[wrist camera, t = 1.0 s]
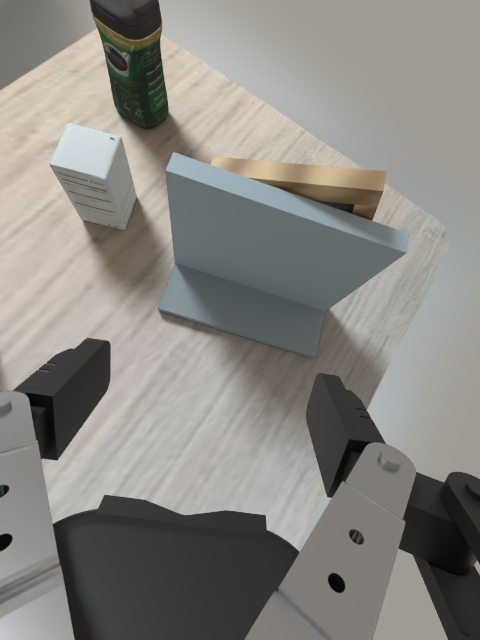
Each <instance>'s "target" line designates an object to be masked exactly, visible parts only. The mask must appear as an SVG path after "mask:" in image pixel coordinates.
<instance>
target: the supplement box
mask: <svg viewBox="0 0 480 640" xmlns="http://www.w3.org/2000/svg"><path fill="white" fill-rule="evenodd" d="M49 165H50V166H51V168H52V169H53V171H54V173H55V175H56V176H57V178H58V180H59V182H60V183H61V185H62V187H63V189H64V190H65V192H66V194H67V195H68V197H69V199H70V200H71V202H72V204H73V206H74V207H75V209H76V211H77V212H78V214H79V216H80V218H81V219H82V220H85V221H89V222H93V223H97V224H101V225H105V226H109V227H113V228H117V229H121V230H125V229H126V226H127V223H128V221H129V218H130V215H131V212H132V209H133V206H134V203H135V200H136V197H137V195H136V192H135V188H134V184H133V180H132V176H131V172H130V168H129V165H128V161H127V157H126V153H125V149H124V145H123V141H122V138H121V137H119V136H116V135H112V134H109V133H105V132H101V131H98V130H94V129H90V128H86V127H82V126H79V125H75V124H71V123H68V124H67V126H66V128H65V131H64V133H63V135H62V137H61V139H60V142H59V144H58V146H57V148H56V150H55V153H54V155H53V157H52V159H51V161H50V163H49Z"/></svg>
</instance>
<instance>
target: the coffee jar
mask: <svg viewBox="0 0 480 640" xmlns="http://www.w3.org/2000/svg"><path fill="white" fill-rule="evenodd" d="M90 5H91V11H92V15H93V18H94V21H95V23H96V26H97V28H98V31H99V34H100V37H101V40H102V44H103V48H104V52H105V57H106V63H107V67H108V72H109V78H110V83H111V89H112V95H113V100H114V104H115V107H116V108H117V110H118V111H119V112H120V113H121V114H123V115H124V116H125V117H126V118H128V119H129V120H131V121H132V122H134V123H135V124H137V125H139V126H141V127H144V128H150V127H154V126H156V125H158V124H160V123H161V122H162V121H163V120H164V119H165V118H166V116H167V115H168V100H167V93H166V87H165V81H164V74H163V66H162V59H161V50H160V36H161V32H162V20H161V13H160V8H159V2H158V0H90Z"/></svg>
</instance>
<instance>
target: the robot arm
mask: <svg viewBox="0 0 480 640" xmlns="http://www.w3.org/2000/svg"><path fill="white" fill-rule="evenodd" d="M110 350H111V348H110V343H109V341H105V340H98V339H92V338H87V339H85V340H84V341H83V342H82V343H81V344H80V345H79V346H77V347H76V348H75V349H68V350H66V351H63V352H61V353H58V354H56V355H55V356H54V357H53V358H51V359H50V360H49V361H48V362H47V364H44V365H43V366H42V367H41V368H39V370H37V371H36V372H35V373H33V374H32V375H31V376H30V377H29V378H27V379H26V380H25V381H24V382H23V383H21V384H20V385H19V386H18V387H17V388H15V389H14V390H13V391H2V392H0V640H373V636H374V633H375V629H376V625H377V621H378V619H379V615H380V611H381V608H382V604H383V601H384V597H385V594H386V590H387V587H388V583H389V580H390V576H391V573H392V569H393V565H394V562H395V559H396V555H397V551H398V548H399V549H401V550H403V551H406V552H408V553H410V554H412V555H413V556H414V559H415V561H416V563H417V565H418V568H419V570H420V573H421V575H422V578H423V580H424V582H425V585H426V587H427V590H428V592H429V594H430V597H431V599H432V602H433V604H434V606H435V609H436V611H437V614H438V616H439V618H440V621H441V623H442V626H443V628H444V630H445V633H446V635H447V638H448V640H480V575H479V573H478V572H477V570H476V568H475V566H474V564H475V563H476V561H477V560H478V562H479V564H480V479H478V478H476V477H474V476H472V475H469V474H467V473H462V472H452V473H450V474H449V476H448V477H447V479H446V481H445V482H441V481H438V480H435V479H433V478H430V477H428V476H425V475H422V474H420V473H418V472H416V469H415V467H414V465H413V463H412V462H411V461H410V459H409V458H407V456H406V455H404V454H403V453H402V452H400V451H399V450H397V449H395V448H394V447H392V446H389V445H387V444H386V443H385V441H384V440H383V438H382V436H381V434H380V433H379V431H378V429H377V427H376V426H375V424H374V422H373V421H372V419H371V417H370V415H369V413H368V412H367V411H366V408H365V406H364V405H363V403H362V401H361V400H360V399H359V398H358V397H357V396H356V395H355V394H354V393H353V392H352V391H350V390H346V389H345V387H344V385H343V383H342V381H341V380H340V378H339V376H335V375H328V374H322V373H319V374H317V376H316V379H315V382H314V385H313V389H312V392H311V395H310V399H309V402H308V406H307V412H306V420H307V425H308V428H309V432H310V436H311V439H312V443H313V447H314V450H315V454H316V458H317V461H318V465H319V469H320V472H321V476H322V480H323V483H324V487H325V490H326V494H327V497H330V498H332V499H331V501H330V502H329V504H328V506H327V508H326V509H325V511H324V513H323V514H322V516H321V518H320V519H319V521H318V523H317V524H316V526H315V528H314V529H313V531H312V533H311V535H310V536H309V538H308V540H307V541H306V543H305V545H304V546H303V548H302V549H301V551H300V552H299V551H298V550H297V549H296V548H295V547H293V546H292V545H291V544H290V543H289V542H287V541H286V540H284V539H283V538H281V537H280V536H278V535H276V534H274V533H272V532H270V531H268V530H267V529H266V515H258V514H250V513H243V512H235V511H227V510H226V511H218V512H210V513H202V514H194V515H181V514H178V513H176V512H173V511H171V510H168V509H166V508H164V507H161V506H159V505H156V504H154V503H151V502H149V501H146V500H141V499H133V498H126V497H118V496H110V495H104V497H103V499H102V502H101V504H100V506H99V508H98V509H94V510H89V511H84V512H80V513H77V514H74V515H71V516H69V517H67V518H64V519H62V520H60V521H58V522H56V523H54V524H52V519H51V513H50V507H49V502H48V496H47V491H46V485H45V479H44V474H43V468H42V463H41V460H42V458H43V459H51V460H58V459H59V457H60V456H61V455H62V453H63V452H64V450H65V449H66V448H67V446H68V445H69V443H70V442H71V441H72V439H73V438H74V436H75V435H76V434H77V432H78V431H79V429H80V428H81V427H82V425H83V424H84V422H85V421H86V420H87V418H88V417H89V415H90V414H91V413H92V411H93V410H94V408H95V407H96V406H97V404H98V403H99V401H100V400H101V399H102V397H103V396H104V394H105V393H106V391H107V389H108V386H109V382H110Z"/></svg>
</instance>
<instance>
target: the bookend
mask: <svg viewBox="0 0 480 640" xmlns="http://www.w3.org/2000/svg"><path fill="white" fill-rule="evenodd" d="M165 171H166V181H167V191H168V200H169V210H170V220H171V230H172V240H173V250H174V259H175V264H174V267H173V269H172V272H171V275H170V277H169V280H168V282H167V285H166V288H165V290H164V293H163V296H162V298H161V301H160V303H159V306H158V310H159V311H161V312H164V313H167V314H170V315H174V316H177V317H180V318H183V319H187V320H190V321H193V322H196V323H200V324H203V325H206V326H209V327H212V328H216V329H219V330H222V331H225V332H229V333H232V334H235V335H238V336H242V337H245V338H248V339H251V340H254V341H258V342H261V343H264V344H267V345H271V346H274V347H277V348H280V349H284V350H287V351H290V352H293V353H297V354H300V355H303V356H306V357H309V358H315V357H316V355H317V350H318V345H319V340H320V335H321V330H322V325H323V320H324V315H325V311H327V310H328V309H329V308H331V307H332V306H334V305H335V304H336V303H338V302H339V301H340V300H342V299H343V298H345V297H346V296H347V295H349V294H350V293H352V292H353V291H354V290H356V289H357V288H359V287H360V286H361V285H363V284H364V283H366V282H367V281H368V280H370V279H371V278H372V277H374V276H375V275H377V274H378V273H379V272H381V271H382V270H384V269H385V268H386V267H388V266H389V265H391V264H392V263H393V262H395V261H396V260H398V259H399V258H400V257H402V256H403V255H404V254H406V253H407V247H408V238H409V234H408V233H405V232H403V231H400V230H397V229H394V228H391V227H388V226H385V225H382V224H379V223H377V222H374V221H371V220H368V219H365V218H362V217H359V216H356V215H354V214H351V213H348V212H345V211H342V210H339V209H336V208H333V207H330V206H328V205H325V204H322V203H319V202H316V201H313V200H310V199H307V198H305V197H302V196H299V195H296V194H293V193H290V192H287V191H284V190H281V189H279V188H276V187H273V186H270V185H267V184H264V183H261V182H258V181H256V180H253V179H250V178H247V177H244V176H241V175H238V174H235V173H233V172H230V171H227V170H224V169H221V168H218V167H215V166H212V165H209V164H207V163H204V162H201V161H198V160H195V159H192V158H189V157H186V156H184V155H181V154H178V153H175V152H173V154H172V156H171V159H170V161H169V163H168V166H167V168H166V170H165Z"/></svg>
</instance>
